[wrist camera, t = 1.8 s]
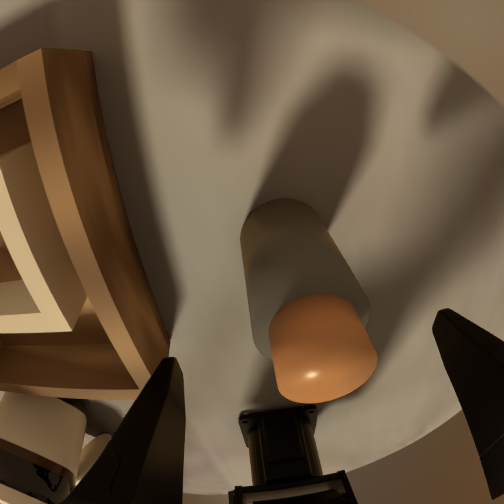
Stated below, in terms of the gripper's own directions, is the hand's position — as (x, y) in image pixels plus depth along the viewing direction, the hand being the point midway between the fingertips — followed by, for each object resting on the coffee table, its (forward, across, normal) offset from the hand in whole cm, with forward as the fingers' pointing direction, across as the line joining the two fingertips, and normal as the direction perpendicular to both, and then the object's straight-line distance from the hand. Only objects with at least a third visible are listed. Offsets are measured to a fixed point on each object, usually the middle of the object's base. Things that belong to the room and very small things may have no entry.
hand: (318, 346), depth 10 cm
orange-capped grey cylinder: (+7, 0, 0) cm, 7 cm away
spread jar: (+7, +20, +15) cm, 26 cm away
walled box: (+7, +14, -2) cm, 16 cm away
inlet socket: (+7, +14, -3) cm, 16 cm away
